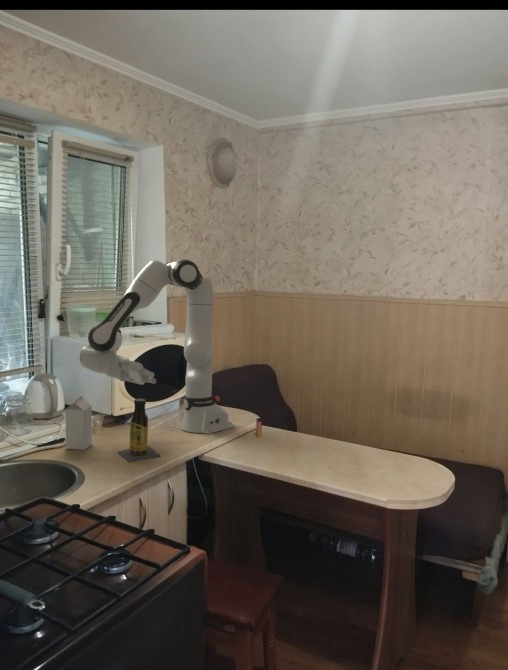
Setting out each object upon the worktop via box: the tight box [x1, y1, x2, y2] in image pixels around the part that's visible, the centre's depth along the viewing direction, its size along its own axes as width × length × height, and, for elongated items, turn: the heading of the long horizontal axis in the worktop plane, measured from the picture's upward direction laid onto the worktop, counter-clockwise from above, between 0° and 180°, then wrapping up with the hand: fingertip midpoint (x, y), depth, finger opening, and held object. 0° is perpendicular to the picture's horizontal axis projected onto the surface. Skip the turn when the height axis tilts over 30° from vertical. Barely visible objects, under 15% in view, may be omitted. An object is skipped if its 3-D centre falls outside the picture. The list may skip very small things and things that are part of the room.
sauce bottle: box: [129, 397, 149, 455], centre depth 196 cm, size 7×6×20 cm
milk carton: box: [64, 394, 93, 451], centre depth 203 cm, size 7×7×19 cm
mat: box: [117, 445, 161, 463], centre depth 198 cm, size 12×11×1 cm
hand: (154, 378), depth 212 cm, fingers open, 8 cm apart
